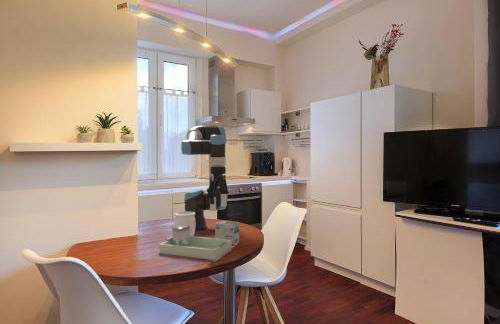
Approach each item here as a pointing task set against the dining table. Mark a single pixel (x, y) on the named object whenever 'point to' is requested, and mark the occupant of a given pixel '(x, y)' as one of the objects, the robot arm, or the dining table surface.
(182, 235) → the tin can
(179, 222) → the jar
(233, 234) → the light bulb box
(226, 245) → the tray
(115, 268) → the dining table surface
